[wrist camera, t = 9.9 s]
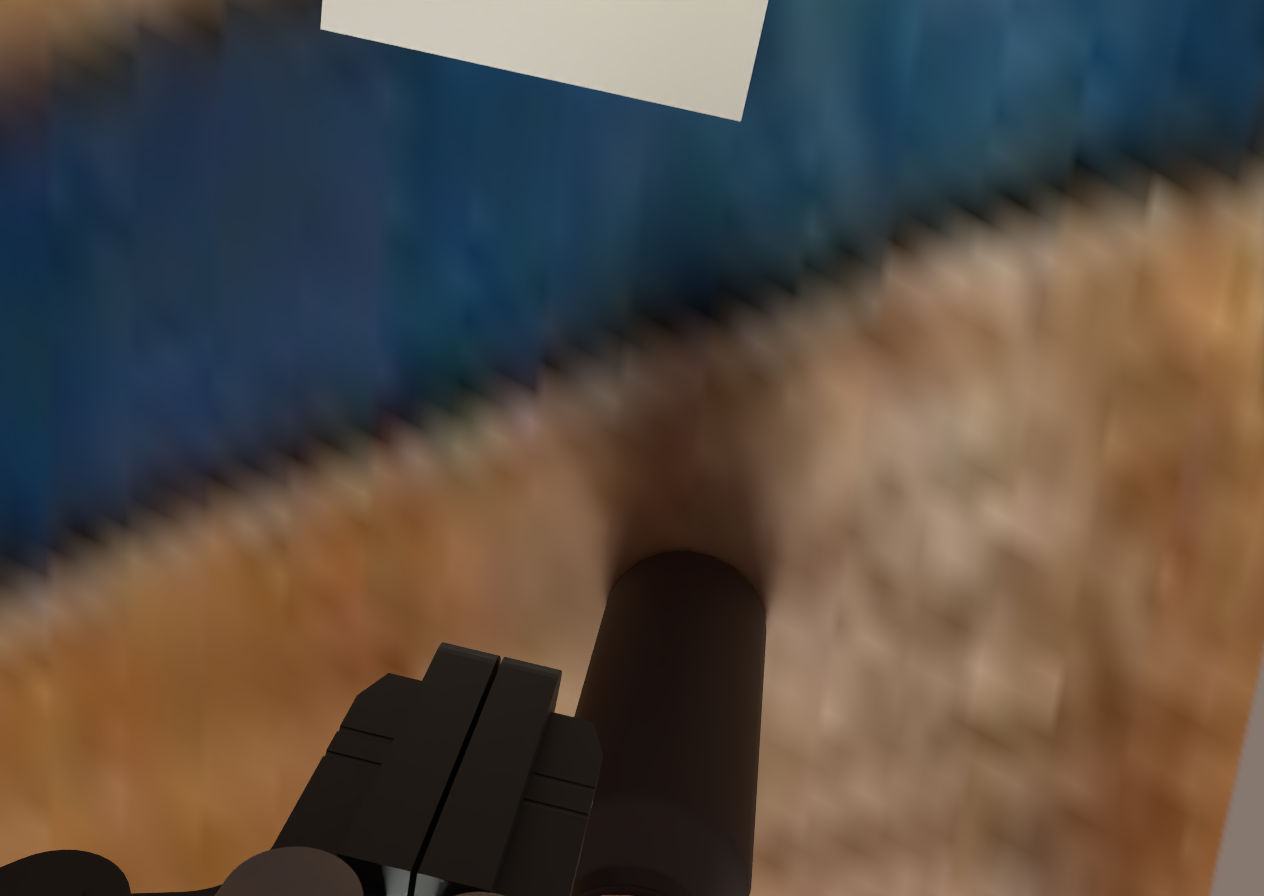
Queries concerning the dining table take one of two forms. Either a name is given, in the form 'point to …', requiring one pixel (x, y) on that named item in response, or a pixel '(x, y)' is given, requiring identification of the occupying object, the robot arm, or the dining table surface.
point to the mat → (582, 42)
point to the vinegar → (674, 732)
